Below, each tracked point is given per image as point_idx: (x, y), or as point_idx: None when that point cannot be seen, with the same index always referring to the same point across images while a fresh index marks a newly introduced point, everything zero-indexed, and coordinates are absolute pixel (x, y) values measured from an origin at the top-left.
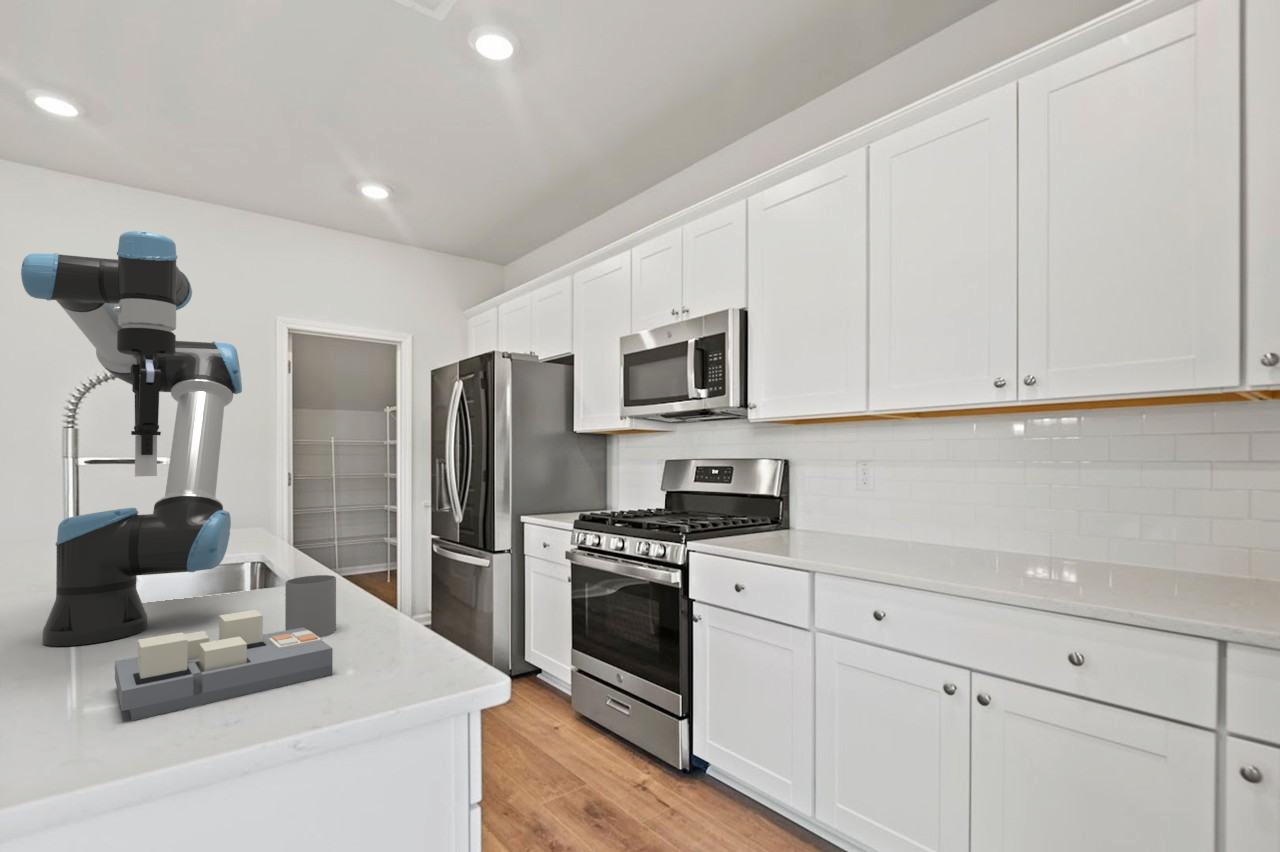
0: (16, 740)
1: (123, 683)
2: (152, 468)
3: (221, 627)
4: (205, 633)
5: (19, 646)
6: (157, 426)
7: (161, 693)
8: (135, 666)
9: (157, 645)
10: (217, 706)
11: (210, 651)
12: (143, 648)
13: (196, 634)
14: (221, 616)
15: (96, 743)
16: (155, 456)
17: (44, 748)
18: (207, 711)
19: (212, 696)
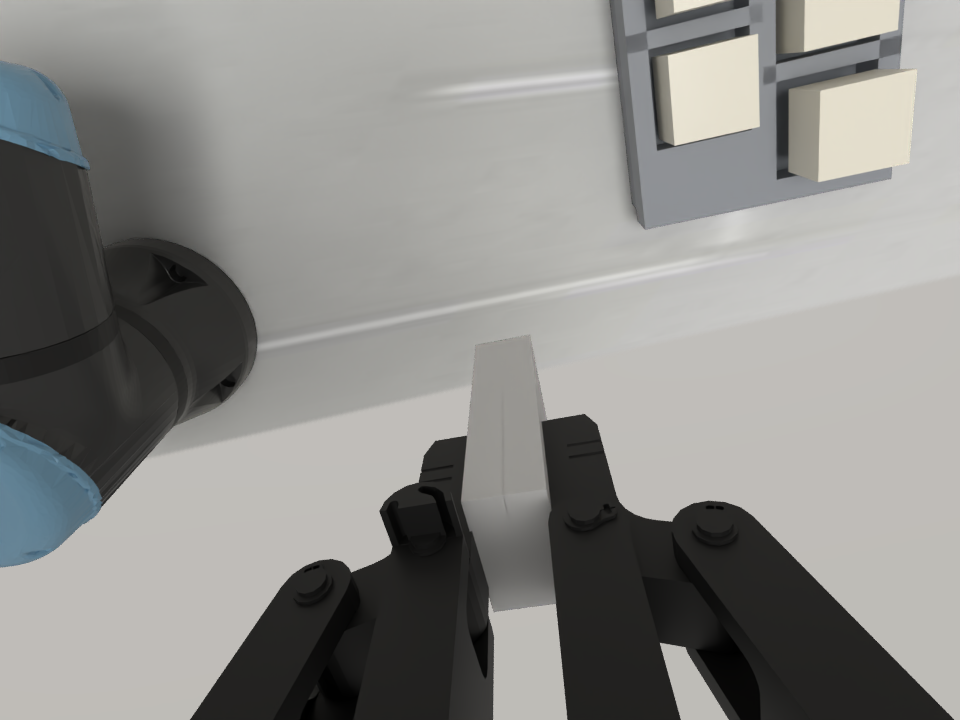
0: (816, 301)
1: (838, 184)
2: (535, 373)
3: (706, 5)
4: (701, 47)
5: (212, 432)
6: (762, 527)
7: None
8: (720, 183)
9: (909, 131)
10: None
11: (897, 17)
12: (907, 158)
13: (695, 70)
14: (695, 4)
15: (931, 189)
16: (537, 398)
17: (888, 256)
18: (915, 23)
19: None
